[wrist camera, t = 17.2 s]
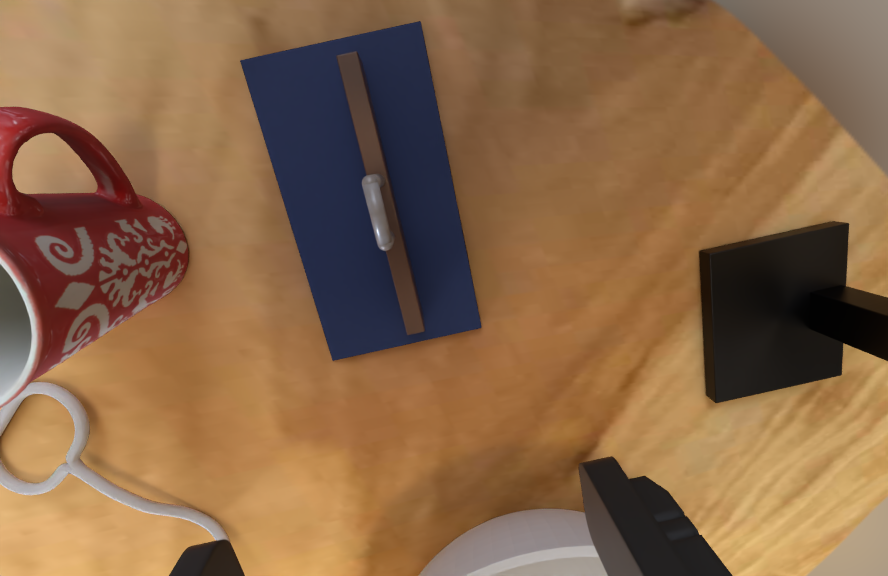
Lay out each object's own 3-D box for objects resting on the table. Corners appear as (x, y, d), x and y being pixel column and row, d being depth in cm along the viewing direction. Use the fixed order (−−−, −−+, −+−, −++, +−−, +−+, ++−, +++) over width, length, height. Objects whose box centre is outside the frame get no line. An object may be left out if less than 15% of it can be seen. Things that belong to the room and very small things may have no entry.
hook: (218, 583, 36) (10, 440, 34) (280, 505, 34) (65, 352, 33) (154, 678, 29) (-111, 501, 27) (230, 584, 27) (-48, 392, 26)
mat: (243, 62, 26) (239, 60, 26) (420, 23, 26) (420, 21, 26) (334, 358, 32) (332, 361, 31) (480, 325, 32) (481, 328, 31)
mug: (181, 334, 31) (8, 456, 18) (45, 282, 29) (-255, 373, 16) (241, 166, 28) (90, 163, 15) (95, 99, 26) (-216, 30, 13)
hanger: (342, 65, 26) (314, 25, 19) (362, 61, 26) (341, 19, 19) (407, 323, 31) (405, 371, 24) (424, 319, 31) (427, 366, 24)
